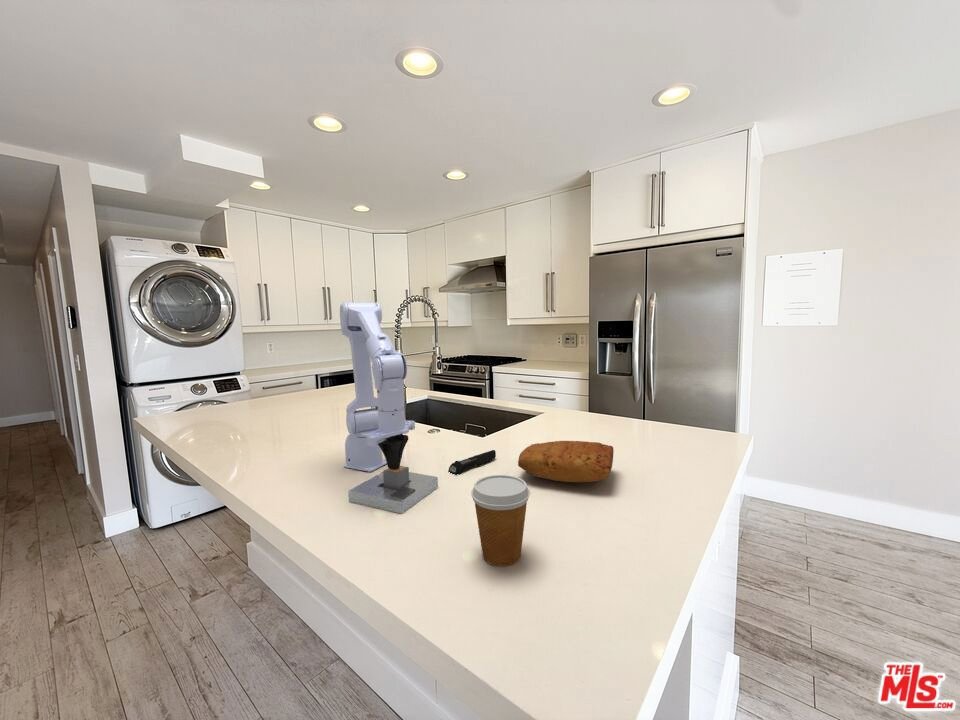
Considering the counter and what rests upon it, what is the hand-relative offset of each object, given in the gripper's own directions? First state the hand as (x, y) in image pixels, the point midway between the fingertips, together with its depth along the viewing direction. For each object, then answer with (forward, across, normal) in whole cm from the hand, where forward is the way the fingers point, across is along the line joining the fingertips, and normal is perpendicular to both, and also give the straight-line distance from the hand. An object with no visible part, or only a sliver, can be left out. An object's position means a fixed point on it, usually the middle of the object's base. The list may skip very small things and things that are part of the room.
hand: (394, 468), depth 89 cm
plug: (+6, 0, 0) cm, 6 cm away
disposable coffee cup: (+6, -12, -31) cm, 34 cm away
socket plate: (+6, 0, 0) cm, 6 cm away
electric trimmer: (+7, +22, -8) cm, 25 cm away
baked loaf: (+6, +24, -33) cm, 41 cm away
